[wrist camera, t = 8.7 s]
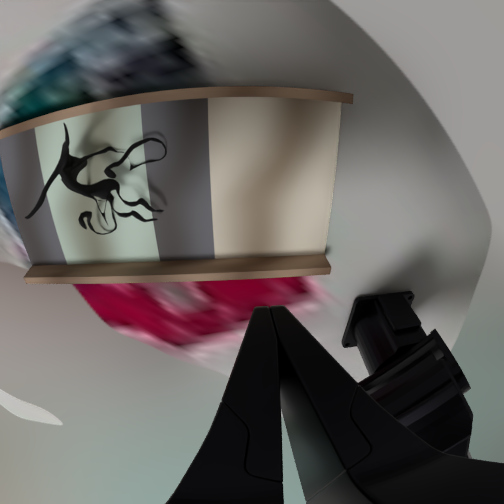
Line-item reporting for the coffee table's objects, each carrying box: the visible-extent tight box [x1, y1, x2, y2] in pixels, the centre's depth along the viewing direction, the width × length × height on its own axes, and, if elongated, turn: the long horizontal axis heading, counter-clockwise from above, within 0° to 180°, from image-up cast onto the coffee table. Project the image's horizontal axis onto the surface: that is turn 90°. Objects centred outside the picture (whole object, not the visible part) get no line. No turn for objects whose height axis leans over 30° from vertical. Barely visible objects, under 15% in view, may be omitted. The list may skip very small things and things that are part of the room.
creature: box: [25, 123, 166, 235], centre depth 15 cm, size 8×5×8 cm
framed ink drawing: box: [0, 86, 353, 284], centre depth 17 cm, size 24×12×2 cm, turn 89°
